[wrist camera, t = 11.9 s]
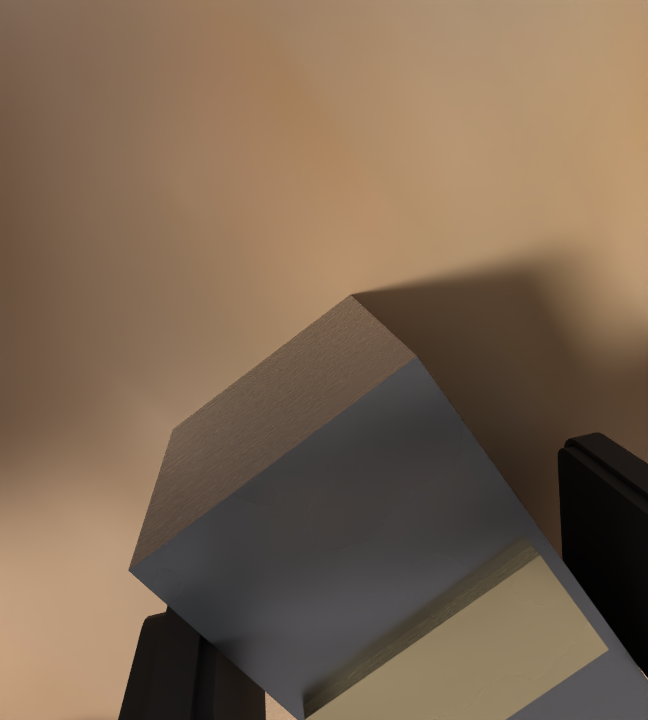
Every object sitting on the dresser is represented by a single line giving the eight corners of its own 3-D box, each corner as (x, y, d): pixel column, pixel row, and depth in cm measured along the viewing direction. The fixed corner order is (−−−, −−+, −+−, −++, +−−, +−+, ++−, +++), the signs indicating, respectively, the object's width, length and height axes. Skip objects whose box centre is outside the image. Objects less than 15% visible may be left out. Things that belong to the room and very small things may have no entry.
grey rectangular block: (348, 292, 9) (423, 360, 5) (551, 570, 12) (703, 756, 8) (173, 425, 10) (124, 583, 6) (408, 670, 12) (486, 897, 8)
